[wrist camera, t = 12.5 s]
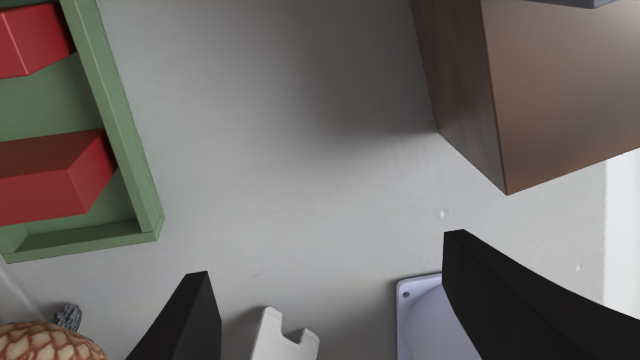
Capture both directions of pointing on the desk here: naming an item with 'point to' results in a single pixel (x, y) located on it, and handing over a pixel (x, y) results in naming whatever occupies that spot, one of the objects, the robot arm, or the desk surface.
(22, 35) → the rack books
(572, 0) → the grey books
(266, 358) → the tablet stand
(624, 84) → the wood grain box
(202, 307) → the robot arm
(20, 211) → the red book
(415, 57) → the desk surface
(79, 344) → the acorn
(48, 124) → the green book tray
